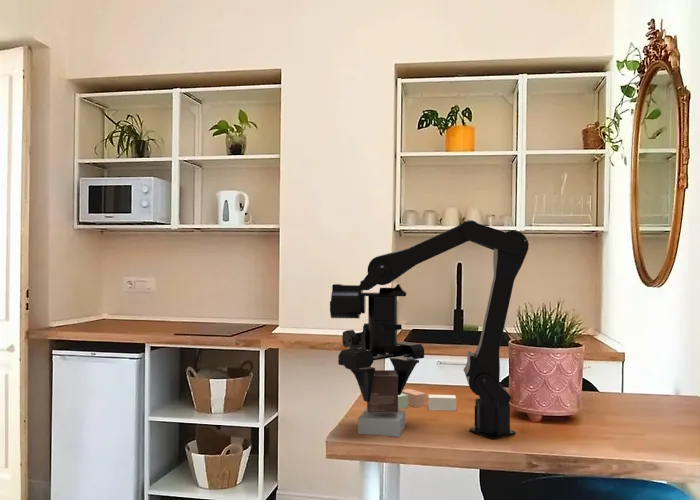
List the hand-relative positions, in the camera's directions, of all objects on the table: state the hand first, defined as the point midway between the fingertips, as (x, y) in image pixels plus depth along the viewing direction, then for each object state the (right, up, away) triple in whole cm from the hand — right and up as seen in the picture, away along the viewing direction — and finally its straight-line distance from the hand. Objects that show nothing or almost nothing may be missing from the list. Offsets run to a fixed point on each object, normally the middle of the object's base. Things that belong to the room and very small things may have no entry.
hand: (382, 397), depth 124 cm
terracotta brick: (+8, -7, +21) cm, 24 cm away
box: (0, -3, 0) cm, 3 cm away
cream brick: (+14, -7, +17) cm, 23 cm away
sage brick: (+3, -7, +17) cm, 19 cm away
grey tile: (0, -6, 0) cm, 6 cm away
